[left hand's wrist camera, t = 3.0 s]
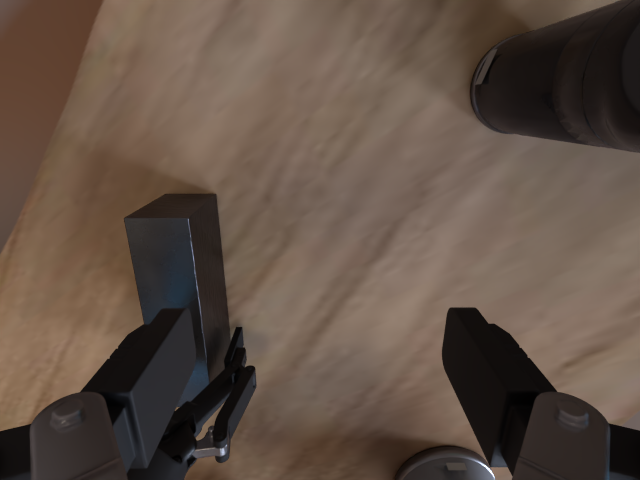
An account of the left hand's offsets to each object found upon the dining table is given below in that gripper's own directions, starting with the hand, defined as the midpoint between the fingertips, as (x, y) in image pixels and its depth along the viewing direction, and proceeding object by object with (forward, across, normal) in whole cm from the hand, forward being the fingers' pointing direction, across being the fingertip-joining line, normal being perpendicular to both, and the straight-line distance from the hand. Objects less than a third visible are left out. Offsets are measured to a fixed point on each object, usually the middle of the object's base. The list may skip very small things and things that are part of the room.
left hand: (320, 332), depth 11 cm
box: (+32, -15, -14) cm, 37 cm away
